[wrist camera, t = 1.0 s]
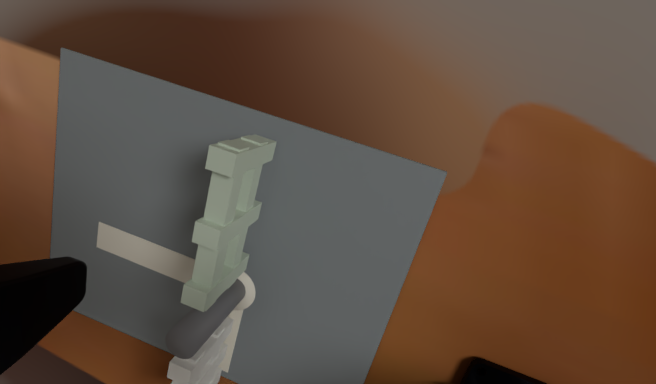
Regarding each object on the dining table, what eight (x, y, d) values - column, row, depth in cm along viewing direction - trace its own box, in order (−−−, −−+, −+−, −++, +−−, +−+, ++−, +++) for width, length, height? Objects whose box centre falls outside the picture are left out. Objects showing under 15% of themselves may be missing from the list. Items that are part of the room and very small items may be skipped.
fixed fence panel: (225, 271, 22) (168, 323, 17) (250, 280, 22) (198, 337, 17) (204, 365, 24) (148, 437, 19) (226, 375, 24) (175, 450, 19)
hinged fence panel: (244, 274, 21) (202, 317, 17) (225, 266, 21) (179, 307, 17) (277, 139, 19) (237, 151, 14) (255, 132, 19) (209, 142, 15)
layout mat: (446, 171, 18) (447, 172, 17) (345, 427, 23) (344, 431, 23) (64, 48, 21) (60, 47, 21) (50, 297, 26) (47, 299, 26)
